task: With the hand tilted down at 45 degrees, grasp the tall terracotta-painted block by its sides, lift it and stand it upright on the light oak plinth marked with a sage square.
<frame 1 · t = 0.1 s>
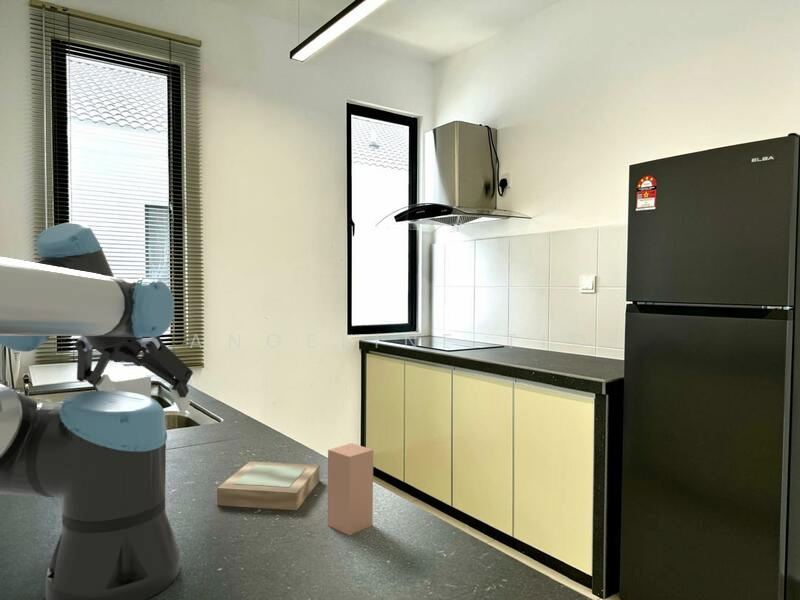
hand: (150, 406, 99), 15 cm above the countertop, tool tilted 35°, fingers open, 13 cm apart
supplement box: (124, 439, 132), on the countertop
plant pot: (50, 455, 119), on the countertop
oak plinth: (271, 492, 99), on the countertop
tall block: (350, 525, 86), on the countertop
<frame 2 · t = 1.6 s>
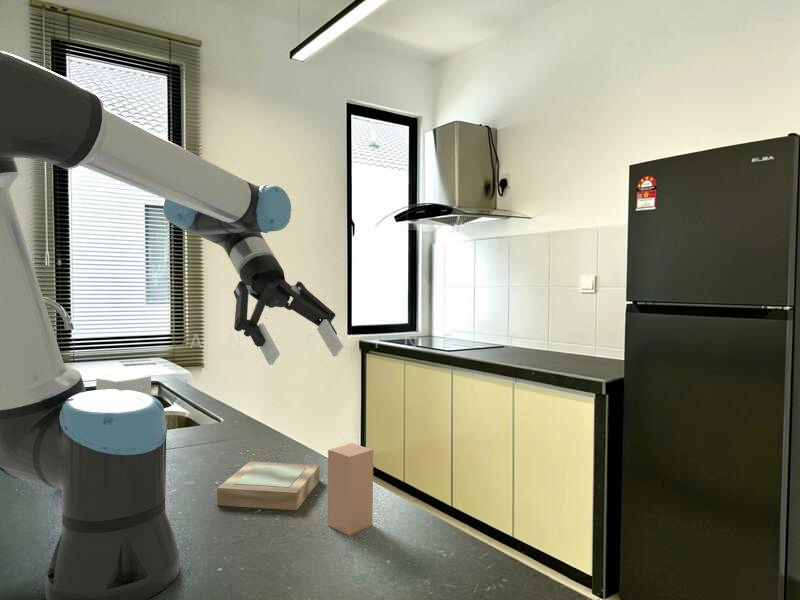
hand: (308, 355, 93), 26 cm above the countertop, tool tilted 45°, fingers open, 13 cm apart
nothing on the countertop moved.
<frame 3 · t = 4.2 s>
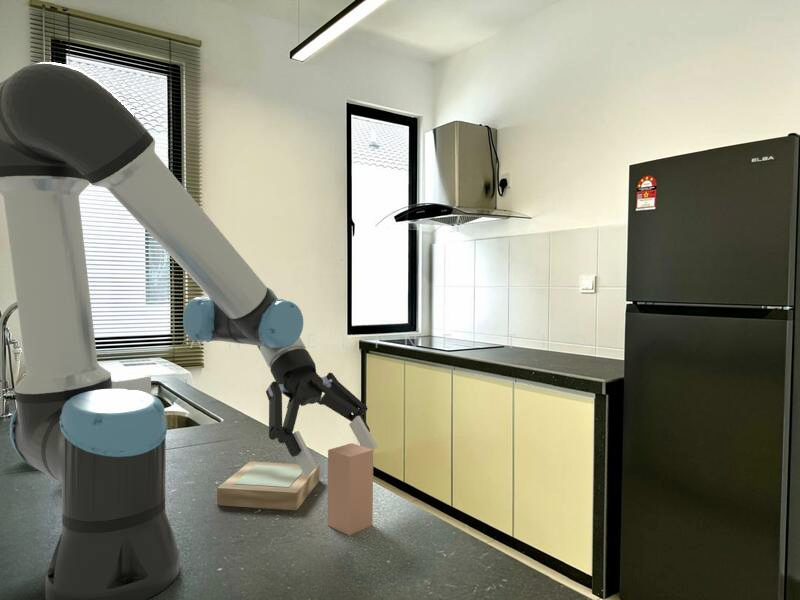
hand: (343, 461, 90), 9 cm above the countertop, tool tilted 45°, fingers open, 13 cm apart
nothing on the countertop moved.
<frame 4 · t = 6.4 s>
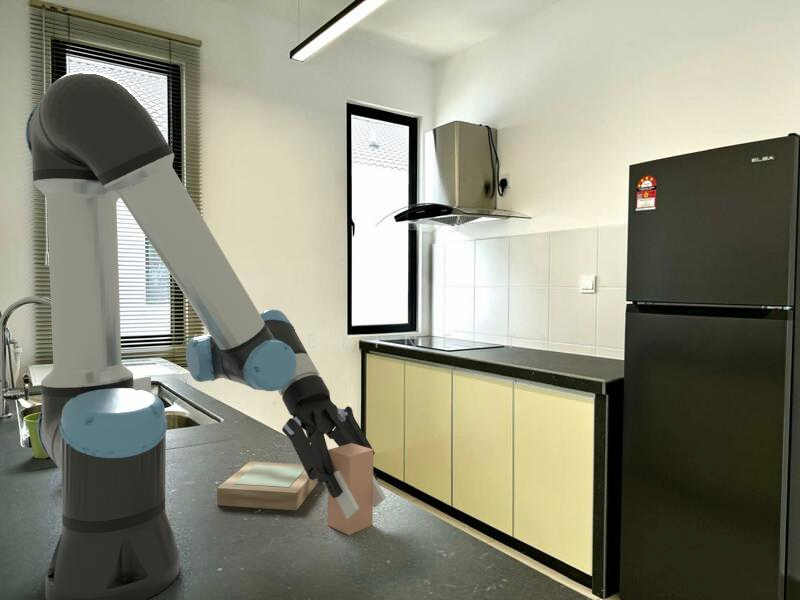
hand: (366, 507, 84), 4 cm above the countertop, tool tilted 45°, fingers closed on tall block, 5 cm apart
tall block: (350, 525, 86), on the countertop, touching gripper
everything else where it was.
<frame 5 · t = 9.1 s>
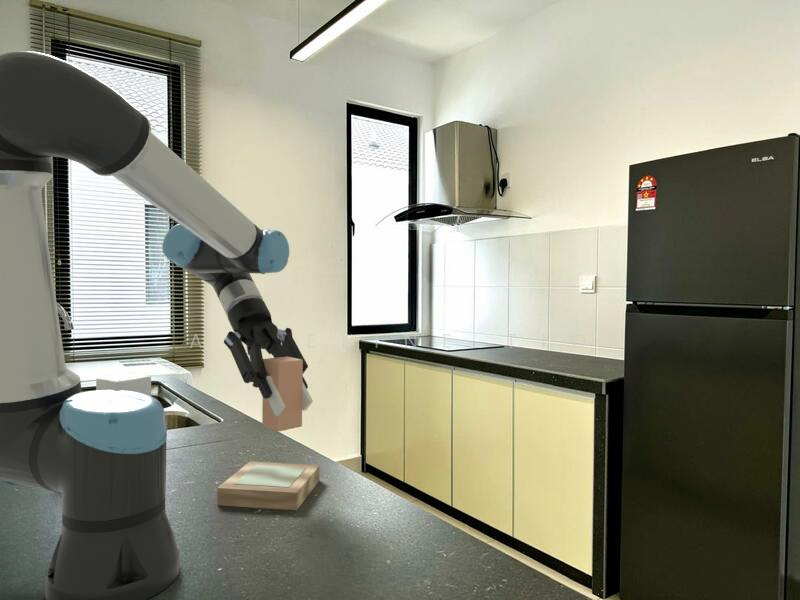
hand: (294, 408, 95), 16 cm above the countertop, tool tilted 45°, fingers closed on tall block, 5 cm apart
tall block: (282, 426, 98), point 12 cm above the countertop, touching gripper
everything else where it was.
when the fingers open (8 cm above the countertop, at t = 11.6 s): tall block stays where it is, resting on oak plinth.
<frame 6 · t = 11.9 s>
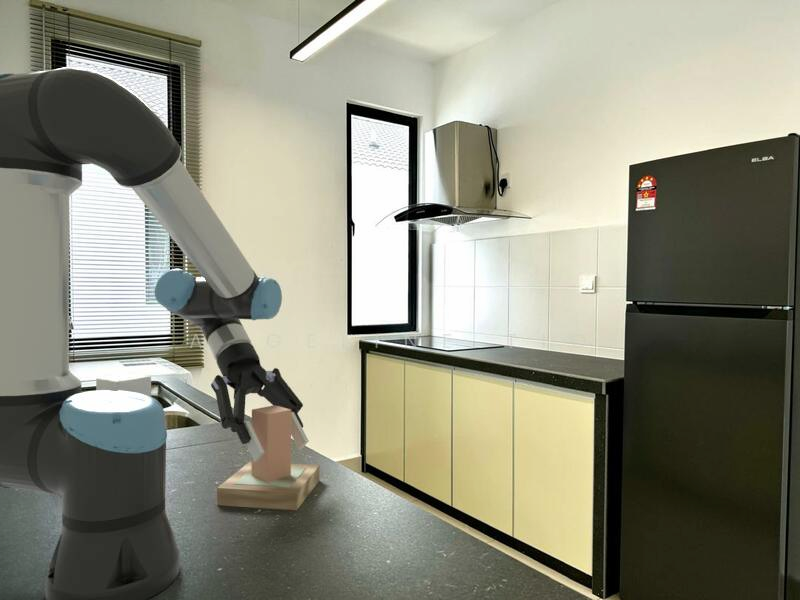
hand: (282, 450, 97), 8 cm above the countertop, tool tilted 45°, fingers open, 9 cm apart
tall block: (271, 475, 99), point 3 cm above the countertop, touching oak plinth
everything else where it was.
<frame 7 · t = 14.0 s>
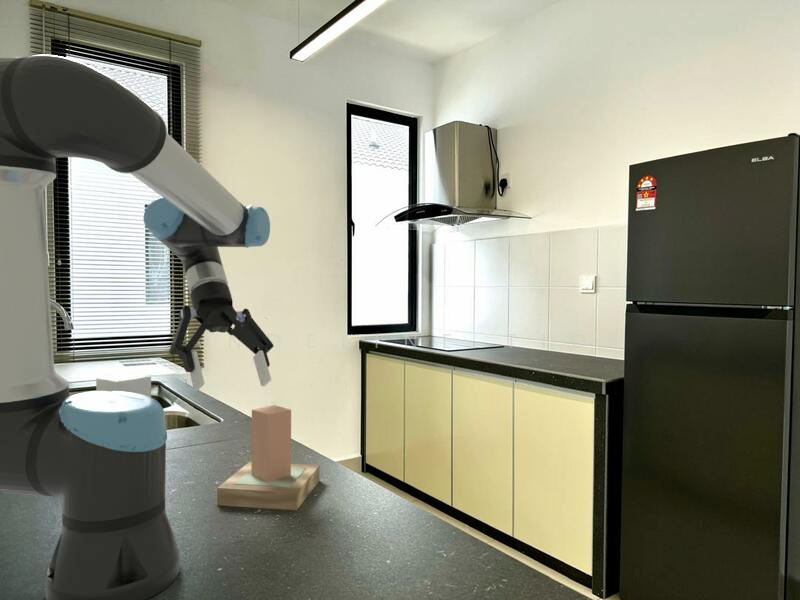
hand: (234, 385, 101), 19 cm above the countertop, tool tilted 35°, fingers open, 13 cm apart
nothing on the countertop moved.
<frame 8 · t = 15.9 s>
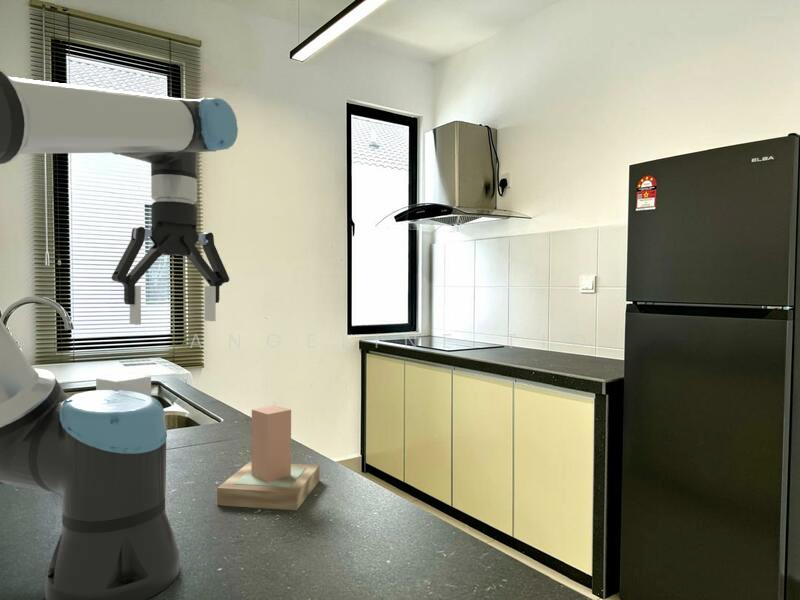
hand: (174, 322, 98), 31 cm above the countertop, tool pointing down, fingers open, 13 cm apart
nothing on the countertop moved.
at the end: tall block inside the target area on the oak plinth (0.1 cm from its centre), point 3.1 cm above the oak plinth's base; tall block tilted 0°; the gripper is holding nothing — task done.
